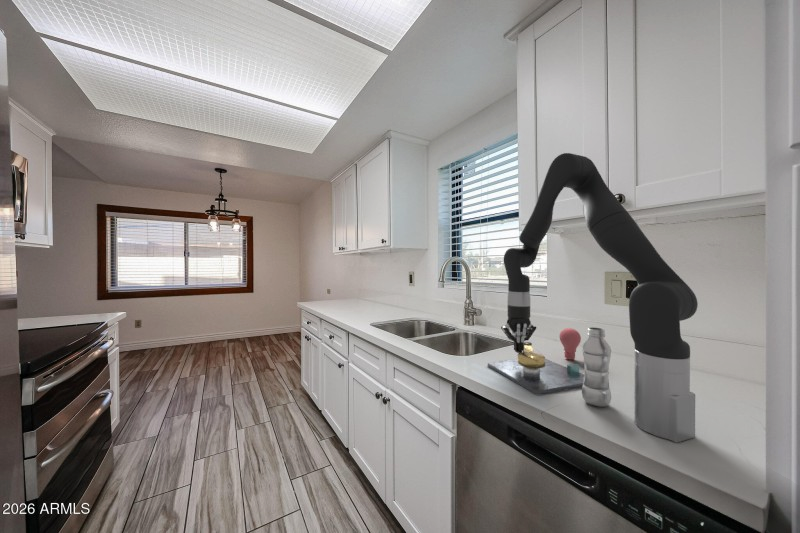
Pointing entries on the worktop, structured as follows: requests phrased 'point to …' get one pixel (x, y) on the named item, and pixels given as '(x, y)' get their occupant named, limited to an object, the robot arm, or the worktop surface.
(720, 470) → the worktop surface
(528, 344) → the gold long piece
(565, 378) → the base
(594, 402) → the plastic bottle
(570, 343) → the light bulb
